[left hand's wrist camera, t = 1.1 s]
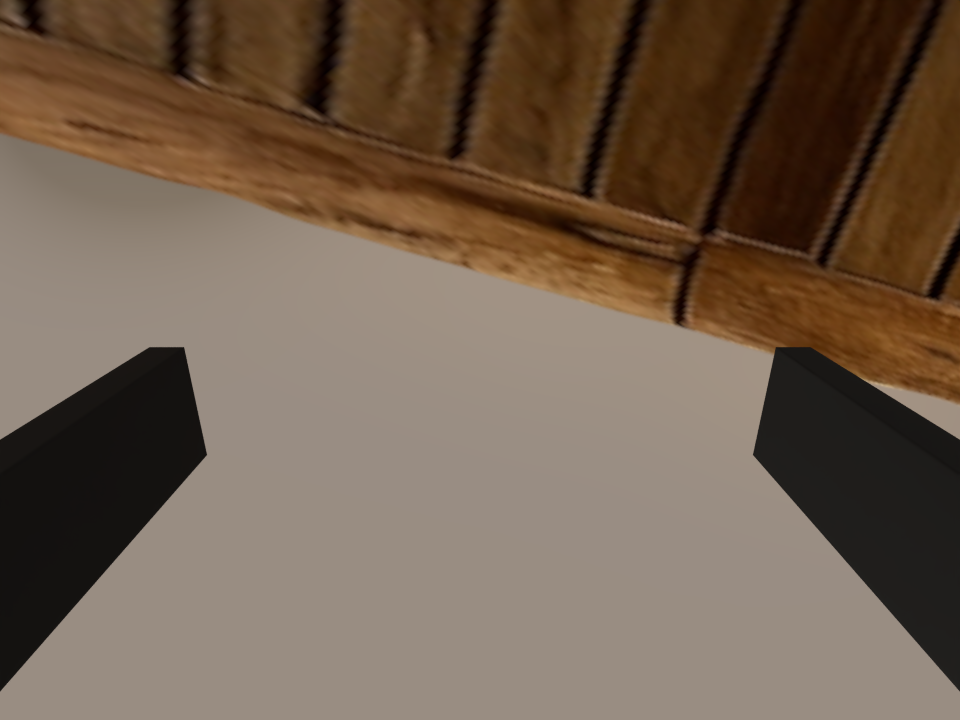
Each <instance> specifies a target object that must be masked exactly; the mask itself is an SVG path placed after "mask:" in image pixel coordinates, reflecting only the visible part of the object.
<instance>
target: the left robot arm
mask: <svg viewBox="0 0 960 720" xmlns="http://www.w3.org/2000/svg"><path fill="white" fill-rule="evenodd" d="M206 455H207V453H206V448H205V444H204V439H203V434H202V429H201V425H200V420H199V415H198V411H197V406H196V401H195V396H194V392H193V387H192V383H191V378H190V373H189V368H188V364H187V359H186V354H185V349H184V347H149V348H148V349H146V350H144V351H143V352H141V353H140V354H138V355H136V356H135V357H133V358H131V359H130V360H128V361H127V362H125V363H123V364H122V365H120V366H119V367H117V368H115V369H114V370H112V371H111V372H109V373H107V374H106V375H104V376H102V377H101V378H99V379H98V380H96V381H94V382H93V383H91V384H89V385H88V386H86V387H85V388H83V389H82V390H80V391H78V392H77V393H75V394H73V395H72V396H70V397H69V398H67V399H65V400H64V401H62V402H61V403H59V404H57V405H56V406H54V407H52V408H51V409H49V410H47V411H46V412H44V413H43V414H41V415H39V416H38V417H36V418H35V419H33V420H31V421H30V422H28V423H27V424H25V425H23V426H22V427H20V428H18V429H17V430H15V431H14V432H12V433H10V434H9V435H7V436H5V437H4V438H2V439H1V440H0V691H1V690H2V689H3V688H4V686H5V685H6V684H7V683H8V682H9V681H10V680H11V678H12V677H13V676H14V675H15V674H16V673H17V671H18V670H19V669H20V668H21V667H22V666H23V665H24V664H25V662H26V661H27V660H28V659H29V658H30V657H31V656H32V654H33V653H34V652H35V651H36V650H37V649H38V648H39V646H40V645H41V644H42V643H43V642H44V641H45V640H46V638H47V637H48V636H49V635H50V634H51V633H52V632H53V630H54V629H55V628H56V627H57V626H58V625H59V624H60V622H61V621H62V620H63V619H64V618H65V617H66V616H67V614H68V613H69V612H70V611H71V610H72V609H73V607H74V606H75V605H76V604H77V603H78V602H79V601H80V600H81V598H82V597H83V596H84V595H85V594H86V593H87V592H88V590H89V589H90V588H91V587H92V586H93V585H94V584H95V582H96V581H97V580H98V579H99V578H100V577H101V575H102V574H103V573H104V572H105V571H106V570H107V569H108V567H109V566H110V565H111V564H112V563H113V562H114V561H115V559H116V558H117V557H118V556H119V555H120V554H121V553H122V551H123V550H124V549H125V548H126V547H127V546H128V545H129V543H130V542H131V541H132V540H133V539H134V538H135V537H136V535H137V534H138V533H139V532H140V531H141V530H142V529H143V527H144V526H145V525H146V524H147V523H148V522H149V521H150V519H151V518H152V517H153V516H154V515H155V514H156V513H157V511H158V510H159V509H160V508H161V507H162V506H163V505H164V503H165V502H166V501H167V500H168V499H169V498H170V497H171V495H172V494H173V493H174V492H175V491H176V490H177V489H178V487H179V486H180V485H181V484H182V483H183V482H184V481H185V479H186V478H187V477H188V476H189V475H190V474H191V473H192V471H193V470H194V469H195V468H196V467H197V466H198V465H199V463H200V462H201V461H202V460H203V459H204V458H205V457H206ZM753 455H754V457H755V458H756V459H757V460H758V461H759V462H760V463H761V465H762V466H763V467H764V468H765V469H766V470H767V471H768V473H769V474H770V475H771V476H772V477H773V478H774V479H775V481H776V482H777V483H778V484H779V485H780V486H781V487H782V489H783V490H784V491H785V492H786V493H787V494H788V495H789V497H790V498H791V499H792V500H793V501H794V502H795V503H796V505H797V506H798V507H799V508H800V509H801V510H802V511H803V513H804V514H805V515H806V516H807V517H808V518H809V519H810V521H811V522H812V523H813V524H814V525H815V526H816V527H817V529H818V530H819V531H820V532H821V533H822V534H823V535H824V537H825V538H826V539H827V540H828V541H829V542H830V543H831V545H832V546H833V547H834V548H835V549H836V550H837V551H838V553H839V554H840V555H841V556H842V557H843V558H844V559H845V561H846V562H847V563H848V564H849V565H850V566H851V567H852V569H853V570H854V571H855V572H856V573H857V574H858V575H859V577H860V578H861V579H862V580H863V581H864V582H865V584H866V585H867V586H868V587H869V588H870V589H871V590H872V592H873V593H874V594H875V595H876V596H877V597H878V598H879V600H880V601H881V602H882V603H883V604H884V605H885V606H886V607H887V609H888V610H889V611H890V612H891V613H892V614H893V615H894V617H895V618H896V619H897V620H898V621H899V622H900V624H901V625H902V626H903V627H904V628H905V629H906V630H907V632H908V633H909V634H910V635H911V636H912V637H913V638H914V640H915V641H916V642H917V643H918V644H919V645H920V646H921V648H922V649H923V650H924V651H925V652H926V653H927V654H928V656H929V657H930V658H931V659H932V660H933V661H934V662H935V664H936V665H937V666H938V667H939V668H940V669H941V670H942V671H943V673H944V674H945V675H946V676H947V677H948V678H949V680H950V681H951V682H952V683H953V684H954V685H955V686H956V687H957V689H958V690H959V691H960V440H959V439H958V438H956V437H955V436H953V435H951V434H950V433H948V432H946V431H945V430H943V429H942V428H940V427H938V426H937V425H935V424H933V423H932V422H930V421H929V420H927V419H925V418H924V417H922V416H921V415H919V414H917V413H916V412H914V411H912V410H911V409H909V408H908V407H906V406H904V405H903V404H901V403H900V402H898V401H896V400H895V399H893V398H892V397H890V396H888V395H887V394H885V393H883V392H882V391H880V390H879V389H877V388H875V387H874V386H872V385H871V384H869V383H867V382H866V381H864V380H862V379H861V378H859V377H858V376H856V375H854V374H853V373H851V372H850V371H848V370H846V369H845V368H843V367H841V366H840V365H838V364H837V363H835V362H833V361H832V360H830V359H829V358H827V357H825V356H824V355H822V354H820V353H819V352H817V351H816V350H814V349H812V348H811V347H776V349H775V354H774V359H773V364H772V368H771V373H770V378H769V382H768V387H767V392H766V396H765V401H764V406H763V411H762V415H761V420H760V425H759V429H758V434H757V439H756V443H755V448H754V453H753Z"/></svg>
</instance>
